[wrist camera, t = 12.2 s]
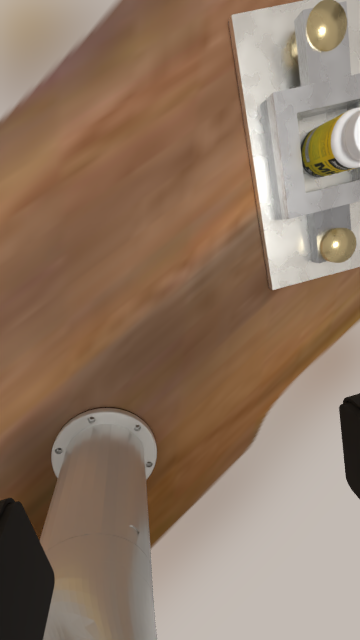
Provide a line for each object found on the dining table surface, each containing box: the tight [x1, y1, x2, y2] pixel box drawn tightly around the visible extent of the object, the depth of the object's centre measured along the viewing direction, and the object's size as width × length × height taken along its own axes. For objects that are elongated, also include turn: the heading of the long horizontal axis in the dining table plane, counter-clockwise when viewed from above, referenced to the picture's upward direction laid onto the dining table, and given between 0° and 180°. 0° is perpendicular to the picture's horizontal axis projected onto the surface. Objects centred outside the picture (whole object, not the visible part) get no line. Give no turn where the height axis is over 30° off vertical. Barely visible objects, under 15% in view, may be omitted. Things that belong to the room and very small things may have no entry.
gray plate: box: [228, 0, 360, 290], centre depth 33 cm, size 26×14×4 cm, turn 13°
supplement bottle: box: [300, 108, 360, 177], centre depth 30 cm, size 5×5×8 cm
